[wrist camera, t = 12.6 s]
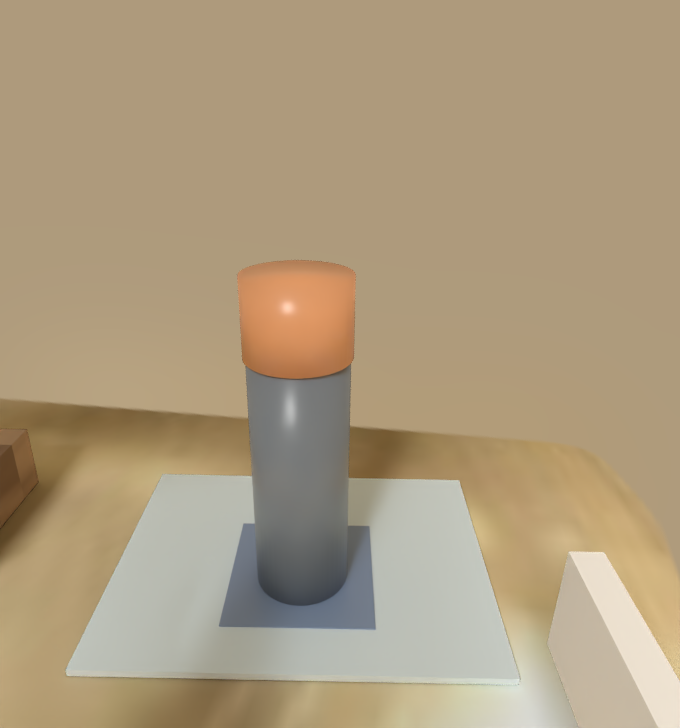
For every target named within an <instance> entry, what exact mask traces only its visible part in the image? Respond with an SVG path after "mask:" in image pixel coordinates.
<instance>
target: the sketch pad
mask: <svg viewBox="0 0 680 728" xmlns="http://www.w3.org/2000/svg"><path fill="white" fill-rule="evenodd" d="M65 671H66V675H67V676H92V677H142V678H192V679H242V680H291V681H341V682H391V683H441V684H491V685H519V683H520V676H519V673H518V670H517V667H516V663H515V660H514V657H513V654H512V650H511V647H510V644H509V641H508V637H507V634H506V631H505V628H504V624H503V621H502V618H501V615H500V612H499V608H498V605H497V602H496V599H495V595H494V592H493V589H492V586H491V582H490V579H489V576H488V573H487V569H486V566H485V563H484V560H483V556H482V553H481V550H480V547H479V543H478V540H477V537H476V534H475V531H474V527H473V524H472V521H471V518H470V514H469V511H468V508H467V505H466V501H465V498H464V495H463V492H462V488H461V485H460V482H459V480H423V479H375V478H349V489H348V540H347V576H346V580H345V582H344V584H343V586H342V587H341V589H340V590H339V591H338V592H337V593H336V594H335V595H333V596H332V597H330V598H329V599H327V600H325V601H322V602H320V603H316V604H312V605H306V606H296V605H288V604H284V603H281V602H279V601H276V600H274V599H273V598H271V597H270V596H268V595H267V594H266V593H265V592H264V591H263V589H262V588H261V586H260V584H259V581H258V571H257V554H256V537H255V519H254V502H253V485H252V476H231V475H183V474H162V476H161V478H160V480H159V482H158V484H157V486H156V488H155V490H154V492H153V494H152V496H151V498H150V500H149V502H148V504H147V506H146V508H145V510H144V512H143V514H142V517H141V519H140V521H139V523H138V525H137V527H136V529H135V531H134V533H133V535H132V537H131V539H130V541H129V543H128V545H127V547H126V549H125V551H124V553H123V555H122V557H121V559H120V561H119V563H118V565H117V567H116V569H115V571H114V573H113V575H112V577H111V579H110V581H109V583H108V585H107V587H106V589H105V591H104V593H103V595H102V597H101V599H100V601H99V603H98V605H97V607H96V609H95V611H94V613H93V615H92V617H91V619H90V621H89V623H88V625H87V627H86V629H85V631H84V633H83V635H82V637H81V640H80V642H79V644H78V646H77V648H76V650H75V652H74V654H73V656H72V658H71V660H70V662H69V664H68V666H67V668H66V670H65Z"/></svg>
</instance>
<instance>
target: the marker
mask: <svg viewBox="0 0 680 728" xmlns="http://www.w3.org/2000/svg"><path fill="white" fill-rule="evenodd" d="M355 278H356V274H355V272H354V271H353V270H351V269H350V268H348V267H345V266H342V265H339V264H334V263H328V262H322V261H321V262H320V261H309V260H287V261H274V262H267V263H261V264H257V265H253V266H249V267H247V268H245V269H242V270H241V271H240V272H239V273H238V275H237V279H238V295H239V312H240V329H241V345H242V360H243V363H244V364H245V365H246V382H247V397H248V398H247V399H248V415H249V416H248V417H249V434H250V451H251V468H252V485H253V502H254V519H255V537H256V554H257V571H258V581H259V584H260V586H261V588H262V589H263V591H264V592H265V593H266V594H267V595H268V596H270V597H271V598H273V599H274V600H276V601H279V602H281V603H284V604H288V605H296V606H306V605H312V604H316V603H320V602H322V601H325V600H327V599H329V598H330V597H332V596H333V595H335V594H336V593H337V592H338V591H339V590H340V589H341V587H342V586H343V584H344V582H345V580H346V576H347V540H348V489H349V438H350V387H351V381H350V380H351V363H352V361H353V359H354V327H355V281H356V279H355Z"/></svg>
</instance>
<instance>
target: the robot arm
mask: <svg viewBox="0 0 680 728" xmlns="http://www.w3.org/2000/svg"><path fill="white" fill-rule="evenodd" d="M547 645H548V648H549V650H550V653H551V656H552V658H553V661H554V663H555V666H556V669H557V671H558V674H559V677H560V679H561V682H562V684H563V687H564V690H565V692H566V695H567V698H568V700H569V703H570V705H571V708H572V711H573V713H574V716H575V719H576V721H577V724H578V726H579V728H680V681H679V679H678V677H677V676H676V674H675V672H674V671H673V669H672V667H671V665H670V664H669V662H668V660H667V659H666V657H665V655H664V653H663V652H662V650H661V648H660V647H659V645H658V643H657V642H656V640H655V638H654V636H653V635H652V633H651V631H650V630H649V628H648V626H647V625H646V623H645V621H644V619H643V618H642V616H641V614H640V613H639V611H638V609H637V607H636V606H635V604H634V602H633V601H632V599H631V597H630V596H629V594H628V592H627V590H626V589H625V587H624V585H623V584H622V582H621V580H620V578H619V577H618V575H617V573H616V572H615V570H614V568H613V567H612V565H611V563H610V561H609V560H608V558H607V556H606V555H605V553H604V552H568V557H567V561H566V565H565V569H564V574H563V578H562V582H561V586H560V591H559V595H558V599H557V603H556V608H555V612H554V616H553V620H552V624H551V629H550V633H549V637H548V641H547Z"/></svg>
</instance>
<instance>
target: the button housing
mask: <svg viewBox="0 0 680 728" xmlns="http://www.w3.org/2000/svg"><path fill="white" fill-rule="evenodd" d="M37 483H38V477H37V473H36V468H35V464H34V459H33V455H32V450H31V446H30V441H29V437H28V432H27V429H0V528H1V527H2V526H3V524H4V523H5V522H6V521H7V520H8V518H9V517H10V516H11V515H12V513H13V512H14V511H15V510H16V509H17V507H18V506H19V505H20V504H21V502H22V501H23V500H24V499H25V498H26V496H27V495H28V494H29V493H30V491H31V490H32V489H33V488H34V487H35V485H36V484H37Z"/></svg>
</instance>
